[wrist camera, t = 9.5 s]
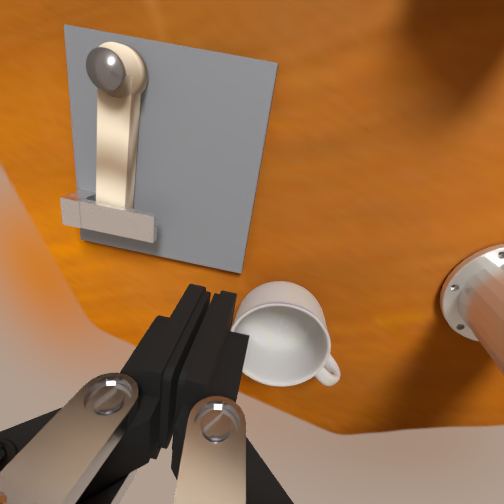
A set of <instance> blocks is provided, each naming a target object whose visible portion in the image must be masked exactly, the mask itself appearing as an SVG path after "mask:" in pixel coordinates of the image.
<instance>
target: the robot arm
mask: <svg viewBox="0 0 504 504" xmlns="http://www.w3.org/2000/svg"><path fill="white" fill-rule="evenodd" d="M210 295H211V293H210V292H207V291H206V287H203V286H199V285H194V284H189V286H188V288H187V289H186V291H185V293H184V294H183V296H182V298H181V299H180V301H179V303H178V305H177V306H176V308H175V310H174V311H173V313H172V315H171V316H170V318H169V317H164V316H160V315H159V316H157V317H156V318H155V320H154V321H153V323H152V324H151V326H150V327H149V329H148V330H147V332H146V333H145V335H144V337H143V338H142V340H141V341H140V343H139V344H138V346H137V347H136V349H135V350H134V352H133V353H132V355H131V357H130V358H129V360H128V361H127V363H126V364H125V366H124V367H123V369H122V370H121V372H120V373H107V374H103V375H100V376H97V377H95V378H93V379H91V380H90V381H89V382H88V383H86V384H85V385H84V386H83V387H82V388H81V389H80V390H79V391H78V392H77V393H76V395H74V396H73V398H71V399H70V400H69V402H68V403H67V404H66V405H65V406H64V407H62V408H59V409H57V410H54V411H52V412H49V413H47V414H44V415H42V416H39V417H37V418H34V419H32V420H29V421H26V422H24V423H21V424H19V425H16V426H14V427H11V428H9V429H6V430H3V431H1V432H0V504H119V502H120V501H121V499H122V497H123V496H124V494H125V492H126V490H127V489H128V487H129V485H130V484H131V482H132V480H133V479H134V476H135V474H136V472H137V469H138V468H140V467H141V466H143V465H145V464H147V463H148V462H149V460H150V458H153V459H157V457H158V454H159V452H160V449H161V448H165V449H167V447H168V445H169V443H170V441H171V438H172V435H173V443H172V450H173V451H172V464H171V469H172V471H173V473H174V475H175V477H176V479H177V486H176V492H175V498H174V503H173V504H294V503H293V502H292V501H291V499H290V498H289V496H288V495H287V494H286V492H285V491H284V489H283V488H282V486H281V485H280V484H279V482H278V481H277V479H276V478H275V477H274V475H273V474H272V473H271V471H270V470H269V468H268V467H267V465H266V464H265V463H264V461H263V460H262V458H261V457H260V456H259V454H258V453H257V451H256V450H255V448H254V447H253V446H252V444H251V443H250V441H249V440H248V439H247V437H246V421H245V415H244V413H243V411H242V409H241V408H240V406H239V405H237V404H236V399H237V394H238V390H239V385H240V380H241V375H242V370H243V365H244V361H245V356H246V351H247V346H248V341H249V336H250V335H246V334H241V333H237V332H232V331H231V326H232V320H233V314H234V308H235V303H236V297H237V294H236V293H231V292H227V291H221V293H220V294H216V293H215V294H214V296H213V298H212V301H211V303H210ZM209 303H210V305H209ZM440 308H441V312H442V314H443V316H444V318H445V320H446V321H447V322H448V324H449V326H450V327H451V328H452V329H453V330H454V331H455V332H457V333H459V334H460V335H462V336H463V337H466V338H468V339H471V340H474V341H478V342H480V343H481V345H482V346H483V347H484V349H485V350H486V351H487V353H488V354H489V355H490V357H491V358H492V359H493V361H494V362H495V364H496V365H497V366H498V368H499V369H500V370H501V372H502V373H503V374H504V244H498V245H495V246H491V247H488V248H485V249H483V250H481V251H478V252H476V253H474V254H473V255H471V256H469V257H468V258H466V259H464V260H463V261H462V262H461V263H460V264H459V265H457V266H456V267H455V268H454V269H453V271H452V272H451V273H450V274H449V275H448V277H447V279H446V280H445V282H444V284H443V287H442V290H441V293H440Z"/></svg>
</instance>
